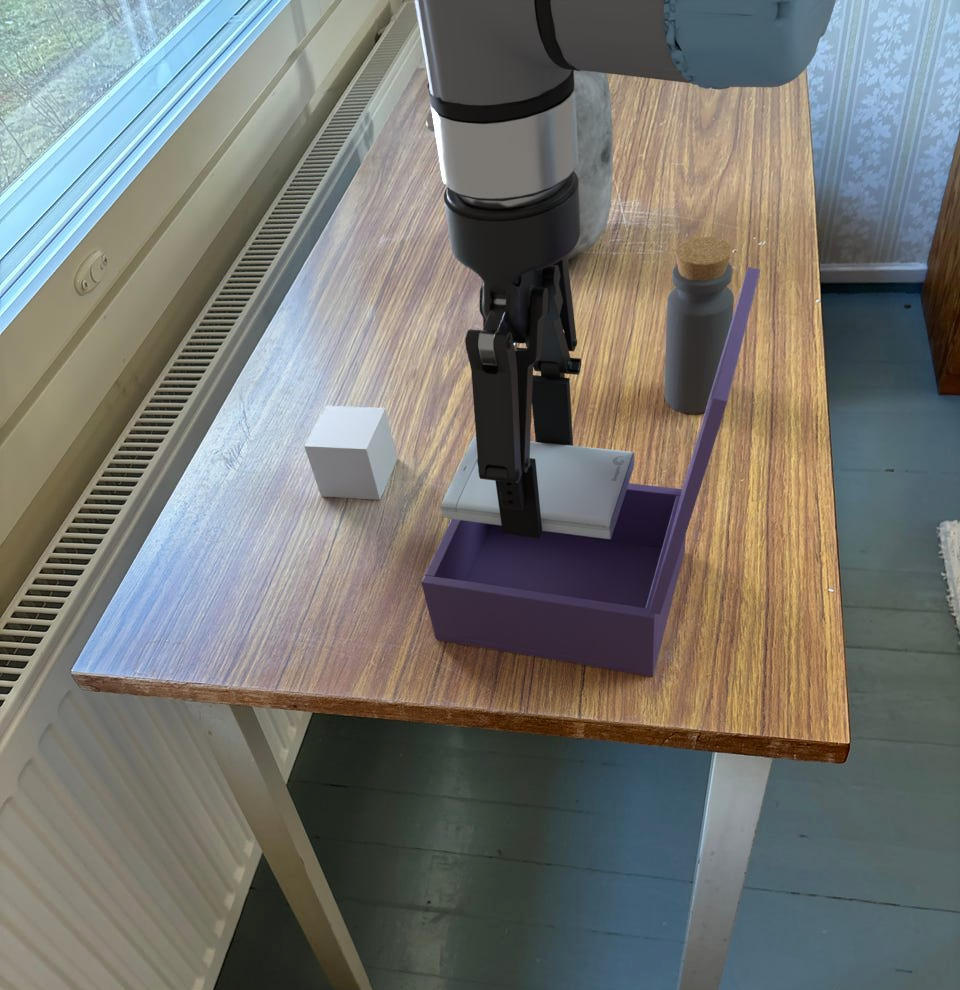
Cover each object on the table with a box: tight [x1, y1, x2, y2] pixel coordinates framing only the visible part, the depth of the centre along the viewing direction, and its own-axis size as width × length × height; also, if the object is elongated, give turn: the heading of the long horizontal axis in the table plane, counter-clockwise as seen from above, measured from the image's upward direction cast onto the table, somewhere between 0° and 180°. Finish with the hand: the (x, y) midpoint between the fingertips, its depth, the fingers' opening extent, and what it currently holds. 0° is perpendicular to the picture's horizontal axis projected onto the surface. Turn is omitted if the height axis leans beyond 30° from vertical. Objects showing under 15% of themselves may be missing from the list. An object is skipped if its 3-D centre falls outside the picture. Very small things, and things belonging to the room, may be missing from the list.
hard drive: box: [440, 435, 635, 539], centre depth 68 cm, size 2×8×12 cm
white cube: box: [303, 405, 399, 501], centre depth 87 cm, size 6×6×6 cm
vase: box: [567, 70, 614, 261], centre depth 101 cm, size 16×16×30 cm
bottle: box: [664, 236, 735, 415], centre depth 86 cm, size 6×6×15 cm
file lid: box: [650, 266, 761, 615], centre depth 61 cm, size 18×14×1 cm
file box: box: [421, 482, 687, 678], centre depth 74 cm, size 18×14×7 cm
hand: (539, 490), depth 69 cm, fingers closed on hard drive, 8 cm apart
